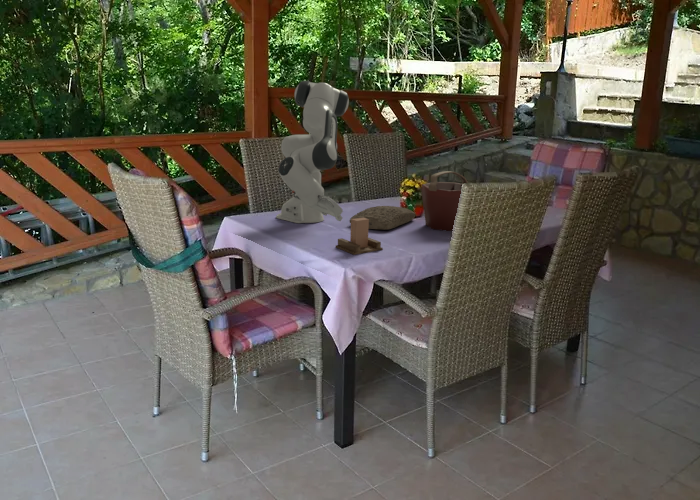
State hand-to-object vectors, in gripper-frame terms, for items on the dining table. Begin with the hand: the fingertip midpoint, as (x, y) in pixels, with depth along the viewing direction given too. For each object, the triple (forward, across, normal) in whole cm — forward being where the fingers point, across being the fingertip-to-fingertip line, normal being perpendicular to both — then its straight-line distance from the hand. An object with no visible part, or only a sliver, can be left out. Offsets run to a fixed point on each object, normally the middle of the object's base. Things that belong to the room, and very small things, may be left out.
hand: (333, 216), depth 237 cm
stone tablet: (+45, +28, -23) cm, 58 cm away
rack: (+19, -1, +1) cm, 19 cm away
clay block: (+18, -1, +1) cm, 18 cm away
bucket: (+59, +10, -38) cm, 71 cm away
